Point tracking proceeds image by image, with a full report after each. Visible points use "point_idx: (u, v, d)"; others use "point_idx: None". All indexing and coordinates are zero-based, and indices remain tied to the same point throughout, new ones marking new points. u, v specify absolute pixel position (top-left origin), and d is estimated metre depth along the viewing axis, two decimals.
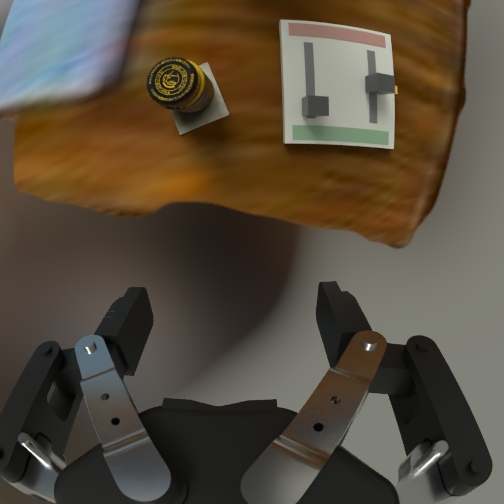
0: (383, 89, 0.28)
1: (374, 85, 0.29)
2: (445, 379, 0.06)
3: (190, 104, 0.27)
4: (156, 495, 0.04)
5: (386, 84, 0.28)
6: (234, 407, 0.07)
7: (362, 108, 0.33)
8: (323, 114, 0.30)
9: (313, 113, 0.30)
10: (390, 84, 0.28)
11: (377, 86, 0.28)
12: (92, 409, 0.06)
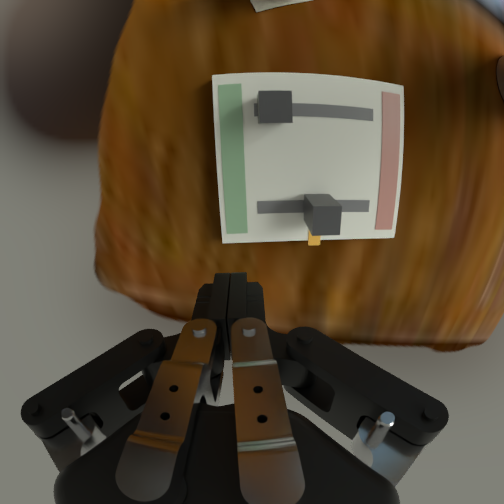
0: (314, 215, 0.22)
1: (319, 203, 0.23)
2: (346, 358, 0.08)
3: None
4: (140, 497, 0.04)
5: (323, 221, 0.22)
6: (235, 407, 0.07)
7: (278, 189, 0.26)
8: (261, 114, 0.19)
9: (261, 98, 0.18)
10: (325, 227, 0.23)
11: (318, 206, 0.22)
12: (153, 393, 0.06)
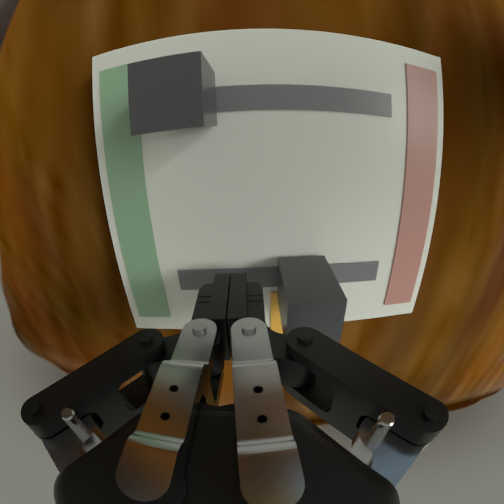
0: (291, 320, 0.11)
1: (302, 290, 0.12)
2: (346, 358, 0.08)
3: None
4: (140, 497, 0.04)
5: None
6: (234, 407, 0.07)
7: (211, 250, 0.14)
8: (133, 115, 0.08)
9: (132, 79, 0.07)
10: None
11: (299, 302, 0.11)
12: (153, 393, 0.06)
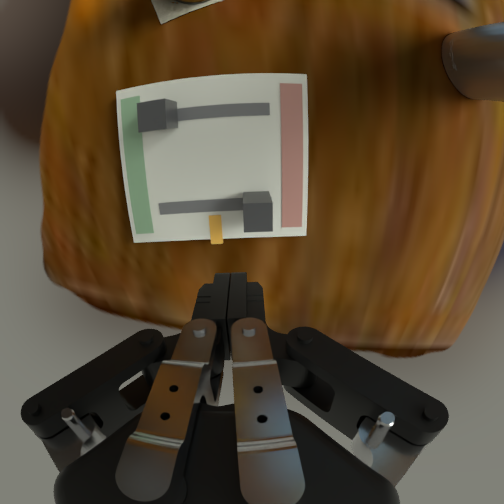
0: (245, 212, 0.23)
1: (251, 200, 0.24)
2: (346, 358, 0.08)
3: None
4: (140, 497, 0.04)
5: (254, 218, 0.23)
6: (234, 407, 0.07)
7: (176, 191, 0.26)
8: (139, 124, 0.20)
9: (139, 109, 0.19)
10: (256, 224, 0.24)
11: (248, 203, 0.23)
12: (153, 393, 0.06)
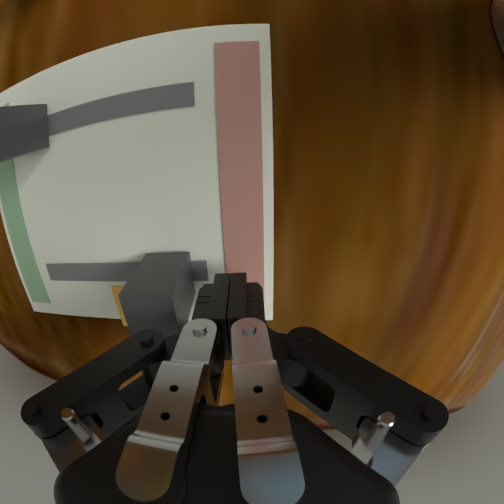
0: (126, 311, 0.11)
1: (140, 283, 0.12)
2: (346, 358, 0.08)
3: None
4: (140, 497, 0.04)
5: (144, 320, 0.11)
6: (235, 407, 0.07)
7: (62, 247, 0.14)
8: None
9: None
10: None
11: (127, 294, 0.11)
12: (153, 393, 0.06)
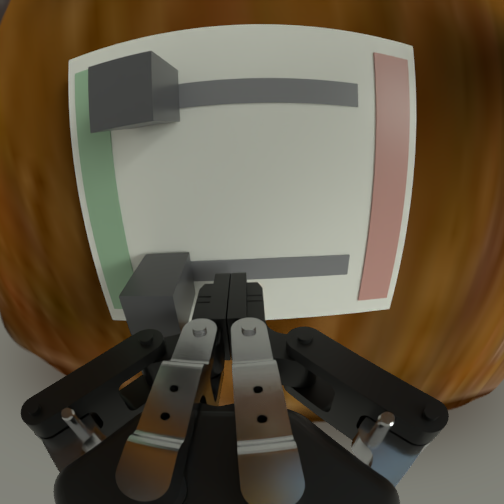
0: (127, 311, 0.11)
1: (140, 284, 0.12)
2: (346, 358, 0.08)
3: None
4: (140, 497, 0.04)
5: (145, 321, 0.11)
6: (234, 407, 0.07)
7: (178, 243, 0.14)
8: (92, 114, 0.08)
9: (92, 81, 0.07)
10: None
11: (128, 295, 0.11)
12: (153, 393, 0.06)
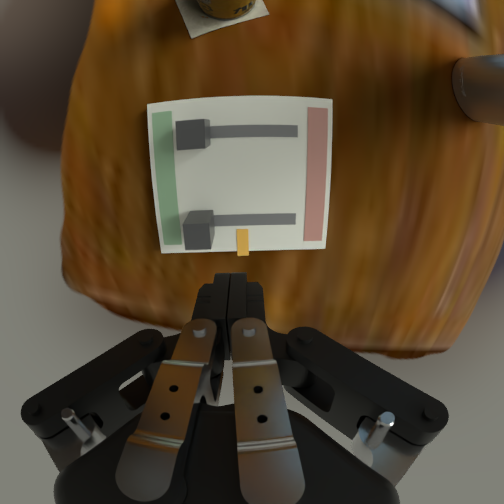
0: (185, 232, 0.25)
1: (191, 220, 0.26)
2: (346, 358, 0.08)
3: None
4: (140, 497, 0.04)
5: (193, 237, 0.25)
6: (234, 407, 0.07)
7: (206, 205, 0.28)
8: (177, 142, 0.22)
9: (177, 128, 0.21)
10: (195, 242, 0.25)
11: (187, 223, 0.25)
12: (153, 393, 0.06)
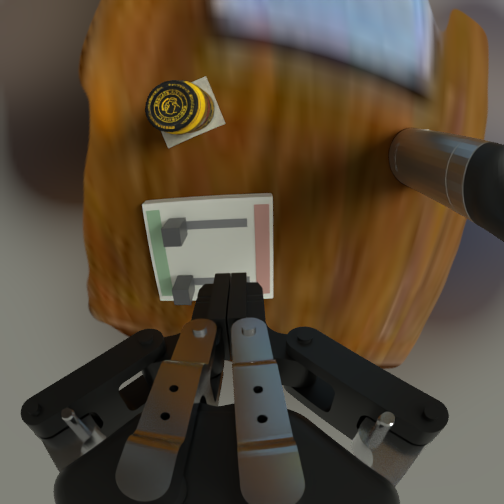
0: (173, 294, 0.39)
1: (177, 286, 0.39)
2: (346, 358, 0.08)
3: None
4: (140, 497, 0.04)
5: (179, 297, 0.39)
6: (234, 406, 0.07)
7: (188, 272, 0.42)
8: (164, 242, 0.35)
9: (162, 233, 0.35)
10: (181, 300, 0.39)
11: (174, 289, 0.38)
12: (153, 393, 0.06)
